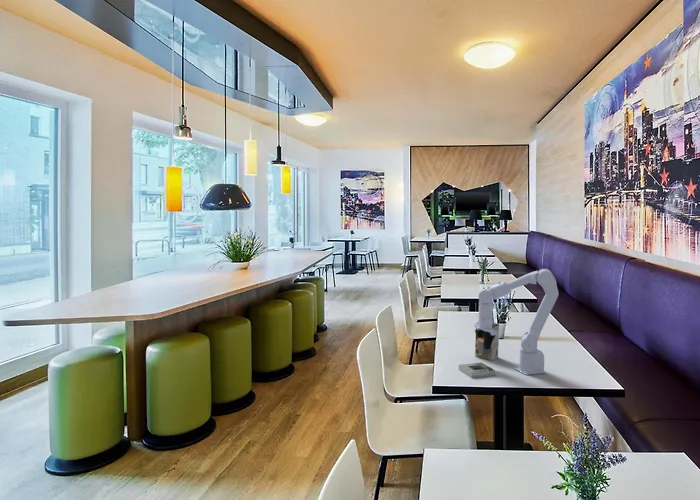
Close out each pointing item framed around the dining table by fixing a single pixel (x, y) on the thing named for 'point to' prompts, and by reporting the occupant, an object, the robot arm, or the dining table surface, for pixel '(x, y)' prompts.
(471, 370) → the socket plate
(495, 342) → the coffee box
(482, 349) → the plug
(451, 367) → the dining table surface
